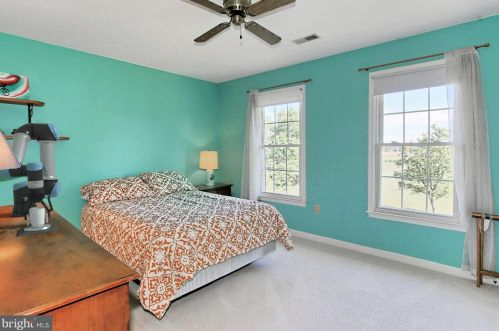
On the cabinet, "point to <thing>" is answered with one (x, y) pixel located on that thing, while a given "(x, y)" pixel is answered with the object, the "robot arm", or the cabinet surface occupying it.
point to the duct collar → (37, 229)
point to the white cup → (37, 215)
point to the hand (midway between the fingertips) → (37, 223)
